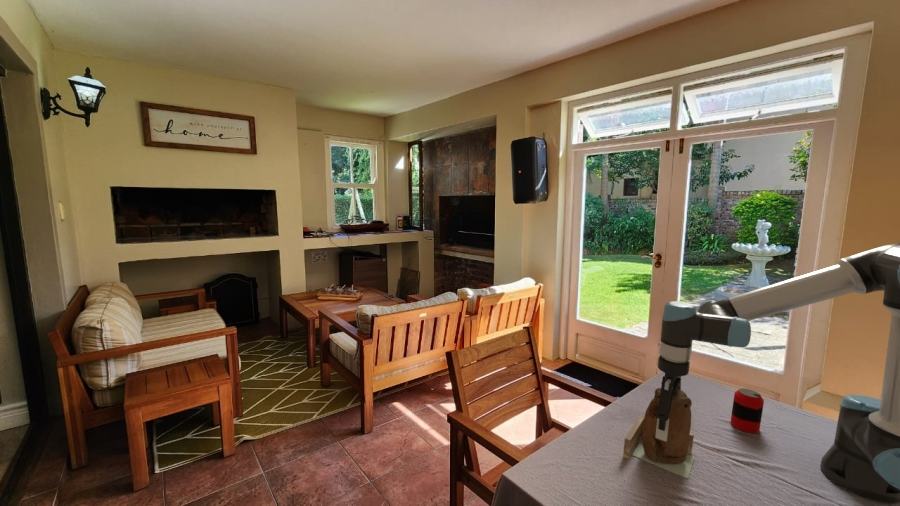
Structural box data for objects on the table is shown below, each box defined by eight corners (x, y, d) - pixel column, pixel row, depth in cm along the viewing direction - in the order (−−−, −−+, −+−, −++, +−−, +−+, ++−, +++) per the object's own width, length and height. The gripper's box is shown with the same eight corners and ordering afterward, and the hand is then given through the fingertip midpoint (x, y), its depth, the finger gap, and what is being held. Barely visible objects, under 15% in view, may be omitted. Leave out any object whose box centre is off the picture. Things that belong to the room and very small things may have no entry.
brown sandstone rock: (673, 448, 115) (680, 385, 111) (689, 465, 107) (697, 399, 104) (637, 448, 114) (643, 385, 111) (651, 466, 107) (658, 399, 104)
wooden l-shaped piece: (691, 452, 113) (694, 433, 112) (681, 482, 101) (684, 461, 100) (638, 431, 123) (639, 414, 122) (623, 456, 111) (624, 438, 110)
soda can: (755, 436, 121) (761, 401, 119) (727, 425, 126) (732, 391, 125) (762, 427, 125) (767, 393, 123) (734, 417, 131) (739, 384, 129)
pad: (694, 457, 111) (694, 456, 111) (687, 478, 103) (687, 478, 103) (642, 437, 120) (642, 436, 120) (631, 455, 112) (632, 454, 111)
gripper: (668, 341, 118) (661, 405, 121) (648, 368, 100) (640, 443, 103) (697, 347, 113) (689, 414, 117) (681, 377, 95) (672, 456, 98)
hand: (666, 428), depth 110 cm, fingers open, 12 cm apart
